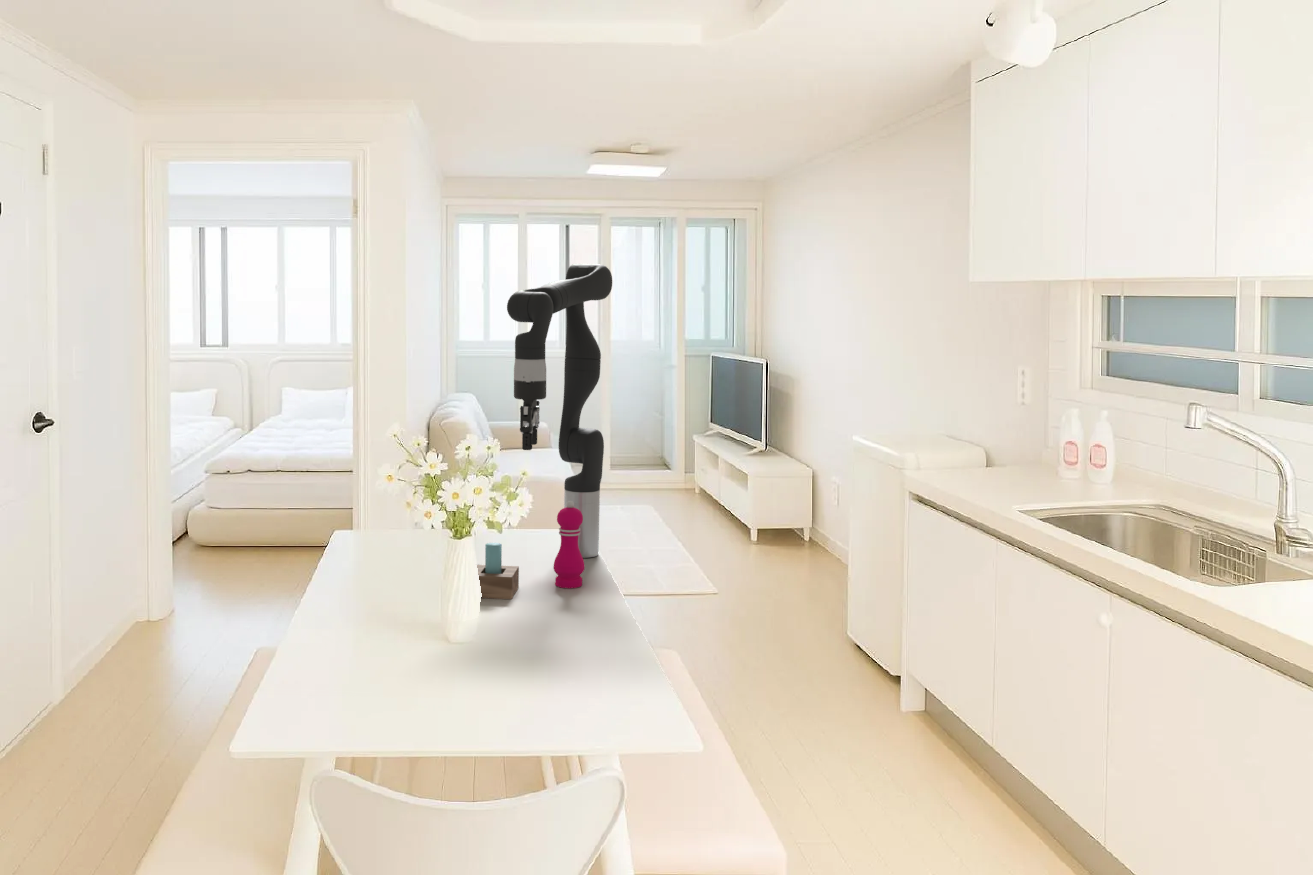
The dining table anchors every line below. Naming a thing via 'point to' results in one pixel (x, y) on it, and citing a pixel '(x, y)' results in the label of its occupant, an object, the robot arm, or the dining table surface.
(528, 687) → the dining table surface
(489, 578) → the socket block
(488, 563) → the peg
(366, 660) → the dining table surface
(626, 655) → the dining table surface
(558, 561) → the pepper mill
